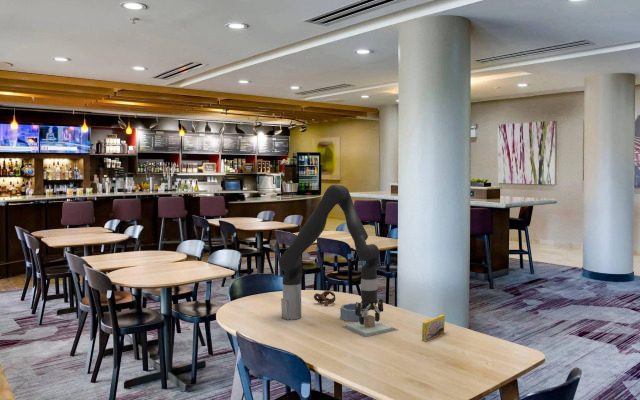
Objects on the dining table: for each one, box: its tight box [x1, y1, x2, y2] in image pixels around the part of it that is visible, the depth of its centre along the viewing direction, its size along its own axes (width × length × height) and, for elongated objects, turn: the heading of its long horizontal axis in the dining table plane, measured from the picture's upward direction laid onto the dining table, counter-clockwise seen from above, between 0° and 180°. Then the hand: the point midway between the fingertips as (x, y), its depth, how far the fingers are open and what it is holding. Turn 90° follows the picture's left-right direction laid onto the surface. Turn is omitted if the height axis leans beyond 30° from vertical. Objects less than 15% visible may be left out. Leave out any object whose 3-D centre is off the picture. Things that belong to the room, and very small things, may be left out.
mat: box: [341, 325, 399, 339], centre depth 243 cm, size 19×19×1 cm
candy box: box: [421, 313, 446, 342], centre depth 231 cm, size 16×2×8 cm, turn 137°
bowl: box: [339, 302, 369, 323], centre depth 260 cm, size 13×13×6 cm
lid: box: [346, 314, 394, 335], centre depth 243 cm, size 15×15×6 cm
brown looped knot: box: [313, 290, 337, 307], centre depth 289 cm, size 12×10×8 cm
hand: (369, 322), depth 243 cm, fingers open, 8 cm apart
